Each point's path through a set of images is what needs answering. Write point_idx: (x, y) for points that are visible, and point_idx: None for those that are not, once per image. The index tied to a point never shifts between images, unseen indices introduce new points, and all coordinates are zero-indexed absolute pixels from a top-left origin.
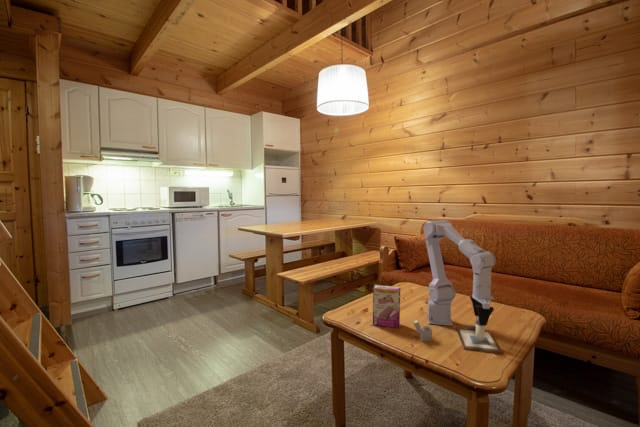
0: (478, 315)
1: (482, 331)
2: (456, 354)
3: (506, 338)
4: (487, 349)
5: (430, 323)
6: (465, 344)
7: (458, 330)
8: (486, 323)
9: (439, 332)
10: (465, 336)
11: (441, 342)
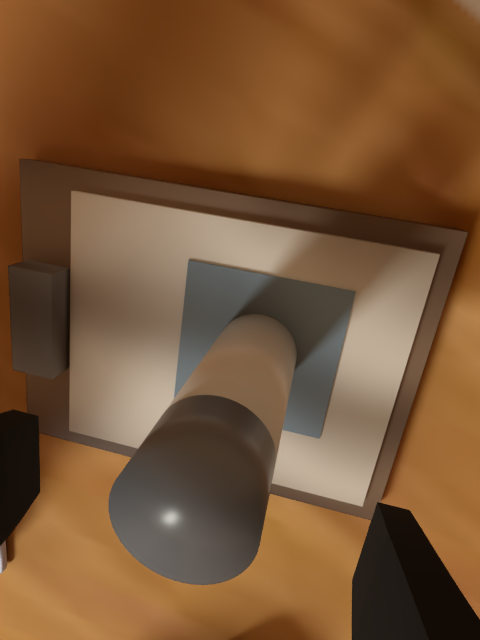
0: None
1: (285, 407)
2: None
3: (124, 10)
4: (416, 350)
5: (6, 564)
6: (339, 500)
7: (84, 438)
8: (424, 544)
9: (122, 553)
10: None
11: (273, 601)
